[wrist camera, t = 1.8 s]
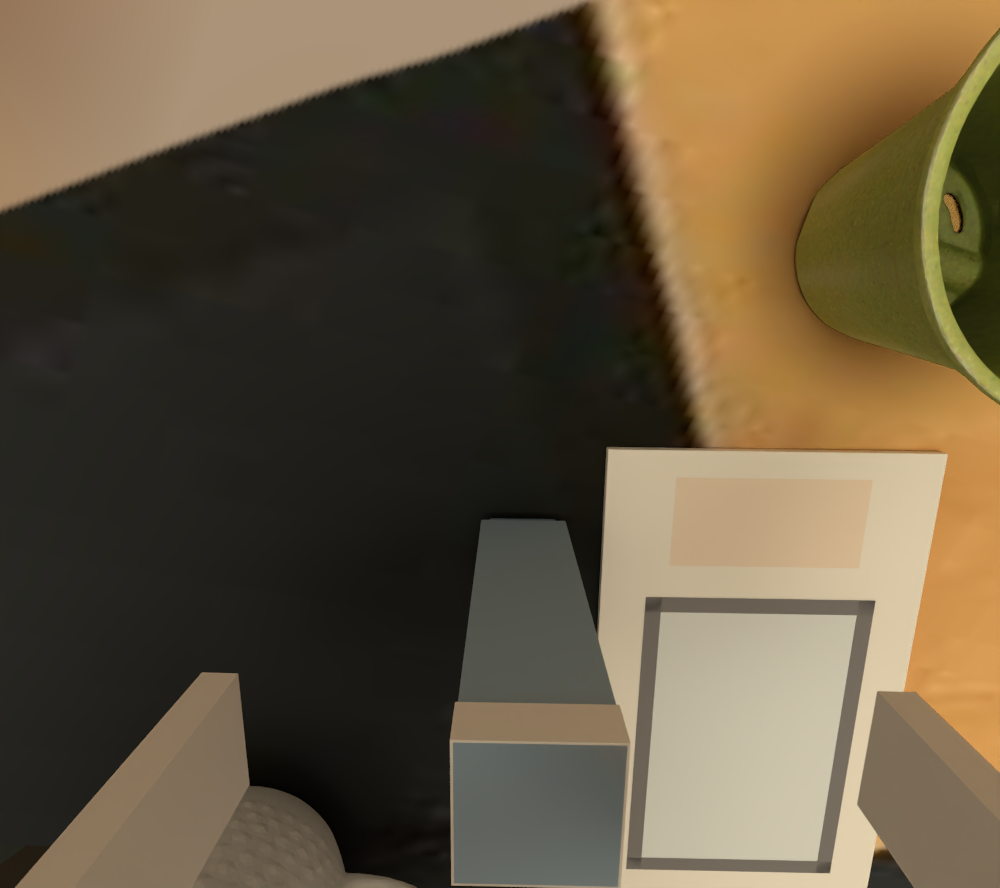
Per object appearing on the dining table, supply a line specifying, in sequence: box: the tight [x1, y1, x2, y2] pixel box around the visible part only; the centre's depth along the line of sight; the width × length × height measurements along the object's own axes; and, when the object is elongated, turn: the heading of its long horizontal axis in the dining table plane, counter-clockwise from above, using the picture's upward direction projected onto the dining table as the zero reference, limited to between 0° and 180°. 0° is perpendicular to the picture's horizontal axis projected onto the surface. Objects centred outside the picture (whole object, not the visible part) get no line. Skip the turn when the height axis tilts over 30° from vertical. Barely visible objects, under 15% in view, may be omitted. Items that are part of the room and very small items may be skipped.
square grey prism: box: [450, 518, 631, 888], centre depth 16 cm, size 3×3×12 cm
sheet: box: [597, 447, 948, 888], centre depth 23 cm, size 12×24×1 cm, turn 179°
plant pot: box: [795, 28, 1000, 405], centre depth 15 cm, size 9×9×9 cm
